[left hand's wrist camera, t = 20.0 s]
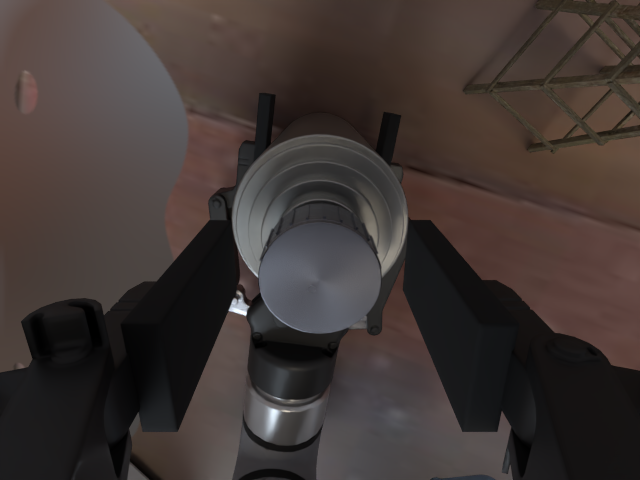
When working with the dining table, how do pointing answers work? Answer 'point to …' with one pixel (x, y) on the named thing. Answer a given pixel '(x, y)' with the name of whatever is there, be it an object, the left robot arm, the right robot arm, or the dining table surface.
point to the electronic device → (135, 473)
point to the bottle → (319, 186)
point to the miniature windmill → (607, 76)
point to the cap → (320, 269)
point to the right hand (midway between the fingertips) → (330, 104)
